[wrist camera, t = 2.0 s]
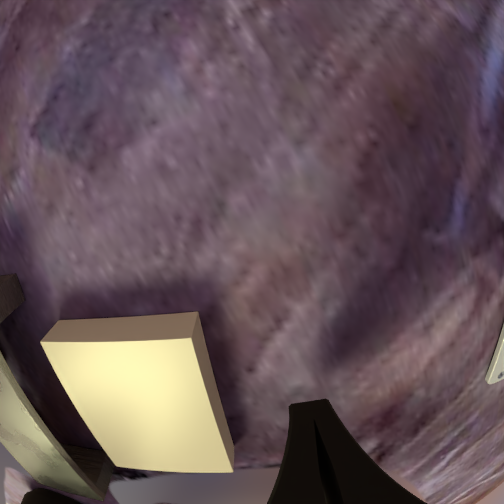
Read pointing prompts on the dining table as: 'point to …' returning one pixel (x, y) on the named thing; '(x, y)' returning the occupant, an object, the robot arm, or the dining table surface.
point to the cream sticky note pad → (145, 390)
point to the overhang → (43, 430)
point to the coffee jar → (46, 497)
